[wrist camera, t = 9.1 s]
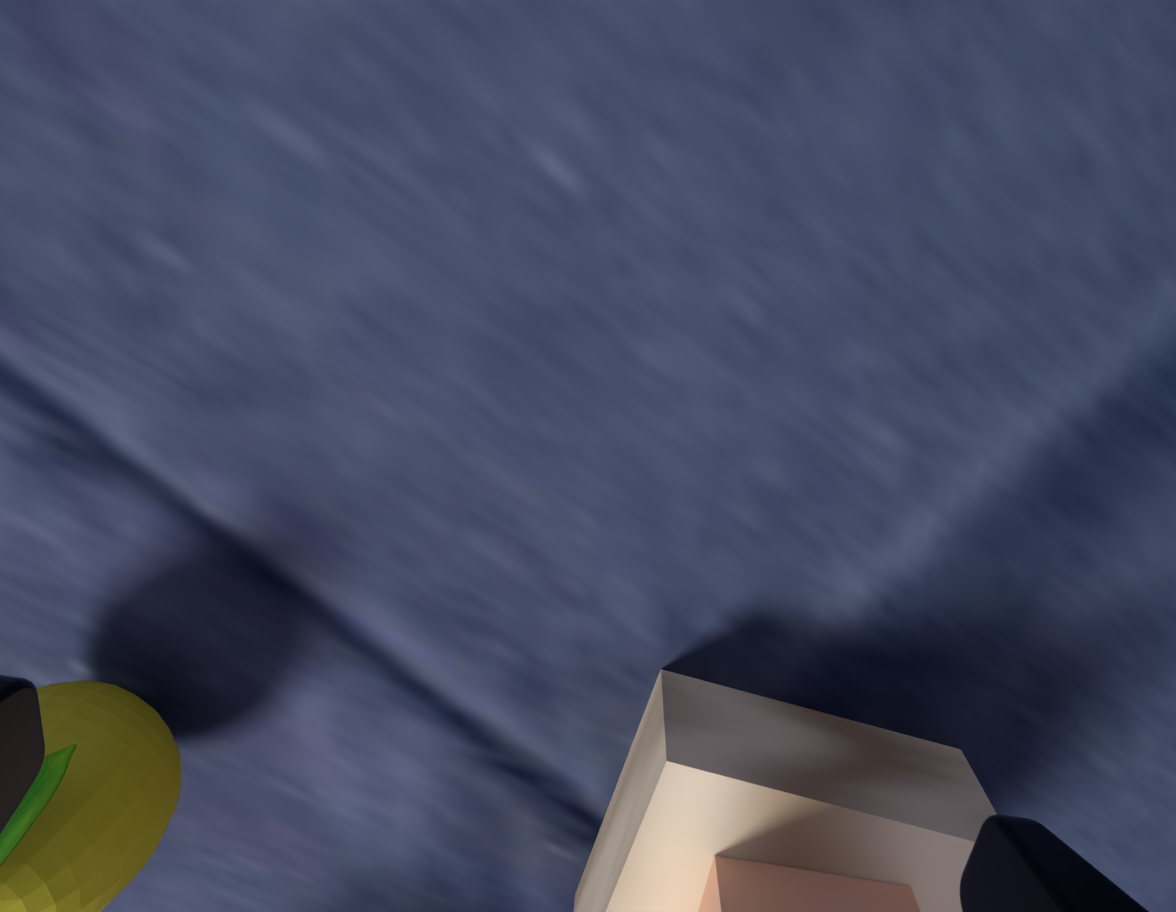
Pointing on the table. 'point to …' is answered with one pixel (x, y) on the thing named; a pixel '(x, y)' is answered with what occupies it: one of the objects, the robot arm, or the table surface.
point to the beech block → (777, 802)
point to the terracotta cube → (796, 890)
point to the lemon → (89, 801)
